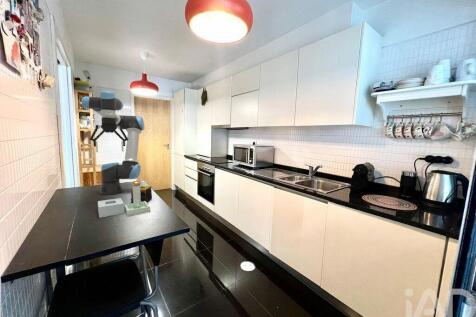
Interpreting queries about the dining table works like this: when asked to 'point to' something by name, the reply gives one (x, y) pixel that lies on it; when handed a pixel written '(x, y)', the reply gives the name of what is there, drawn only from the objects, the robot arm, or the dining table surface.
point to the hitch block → (110, 207)
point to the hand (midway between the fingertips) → (110, 151)
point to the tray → (131, 211)
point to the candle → (144, 194)
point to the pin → (136, 194)
